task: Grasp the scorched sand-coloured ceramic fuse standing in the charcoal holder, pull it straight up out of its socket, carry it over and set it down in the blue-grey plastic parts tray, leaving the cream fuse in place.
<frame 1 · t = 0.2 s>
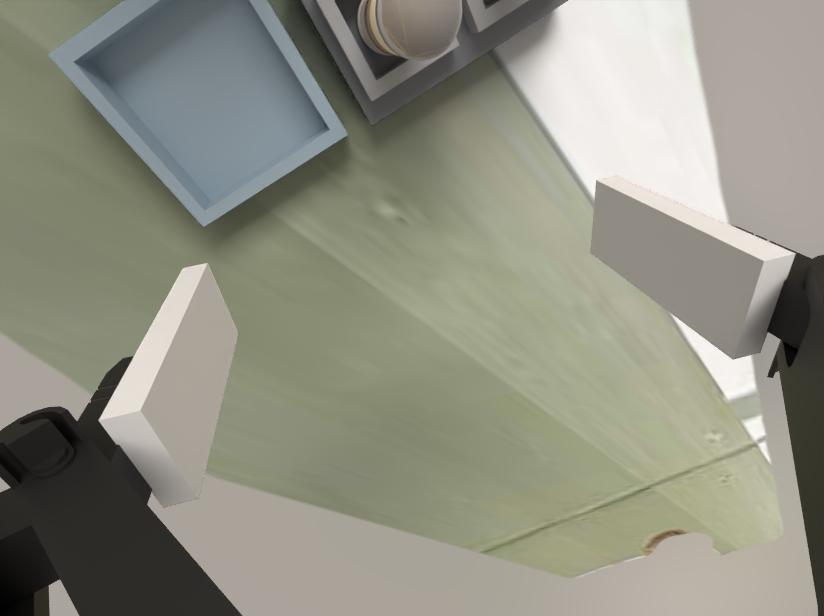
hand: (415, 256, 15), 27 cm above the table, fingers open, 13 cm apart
parts tray: (220, 93, 35), on the table
blown fuse: (385, 21, 32), point 3 cm above the table, touching fuse holder
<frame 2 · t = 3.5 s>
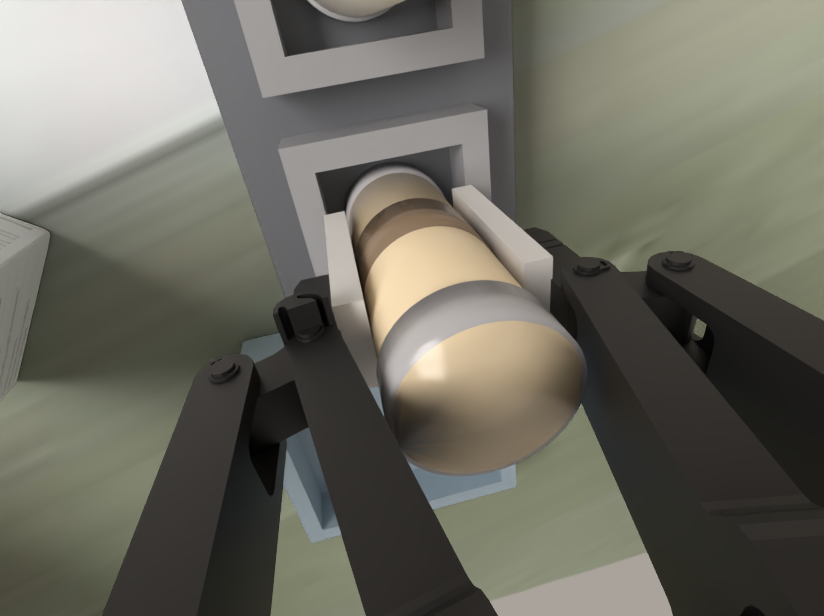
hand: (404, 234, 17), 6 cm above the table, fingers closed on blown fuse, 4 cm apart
parts tray: (390, 402, 29), on the table
fuse holder: (364, 90, 19), on the table
blown fuse: (393, 211, 19), point 3 cm above the table, touching fuse holder, gripper
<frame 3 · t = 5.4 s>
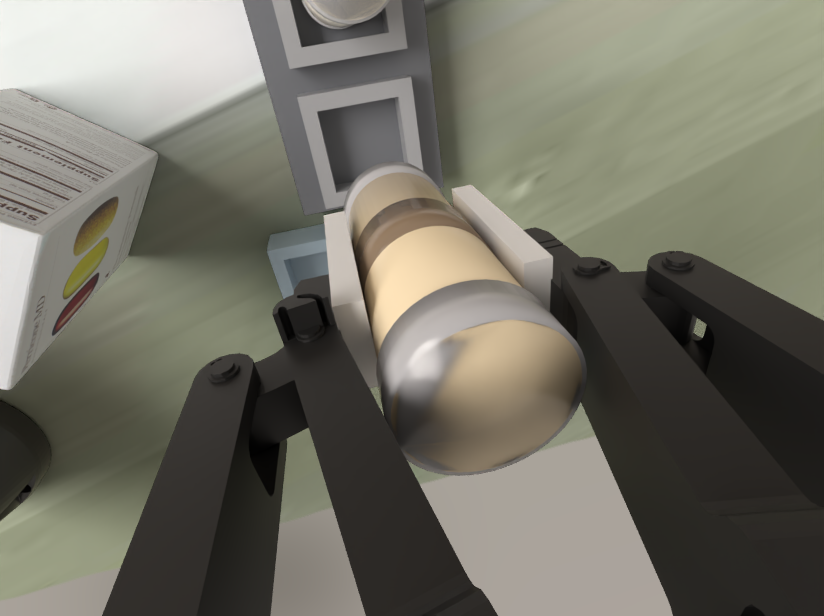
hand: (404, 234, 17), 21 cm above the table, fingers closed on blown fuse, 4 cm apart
parts tray: (368, 288, 41), on the table
fuse holder: (346, 68, 32), on the table
blown fuse: (393, 211, 19), point 18 cm above the table, touching gripper
supplement box: (77, 179, 33), on the table
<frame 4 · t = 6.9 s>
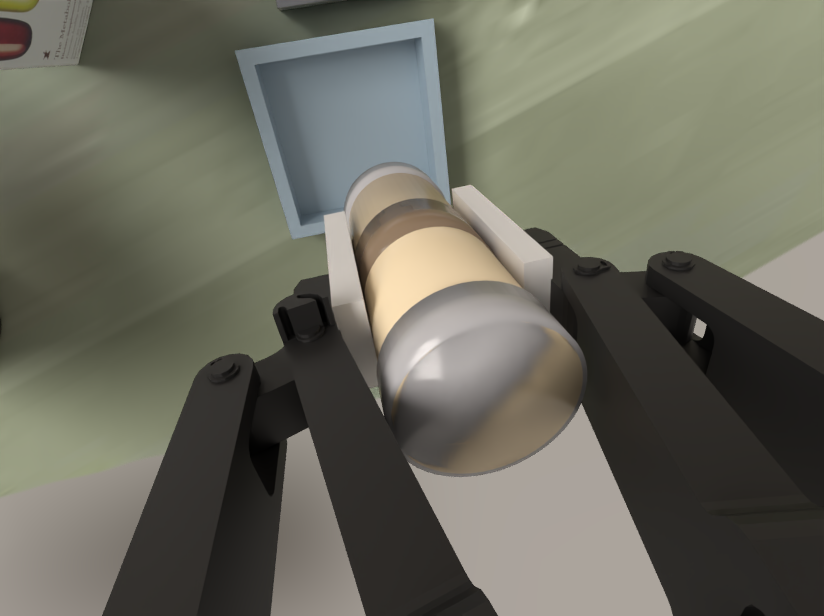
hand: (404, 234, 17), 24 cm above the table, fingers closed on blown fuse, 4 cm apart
parts tray: (352, 131, 37), on the table
blown fuse: (393, 212, 19), point 22 cm above the table, touching gripper
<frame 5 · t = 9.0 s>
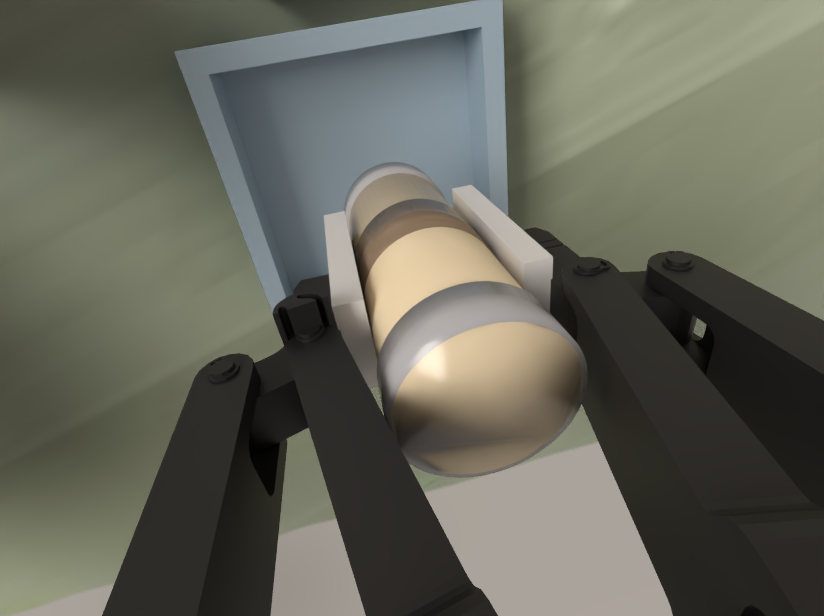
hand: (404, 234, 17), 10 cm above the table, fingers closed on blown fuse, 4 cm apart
parts tray: (367, 169, 25), on the table
blown fuse: (393, 212, 19), point 8 cm above the table, touching gripper
when the fingers open (4 cm above the table, at t = 10.7 s): blown fuse stays where it is, resting on parts tray.
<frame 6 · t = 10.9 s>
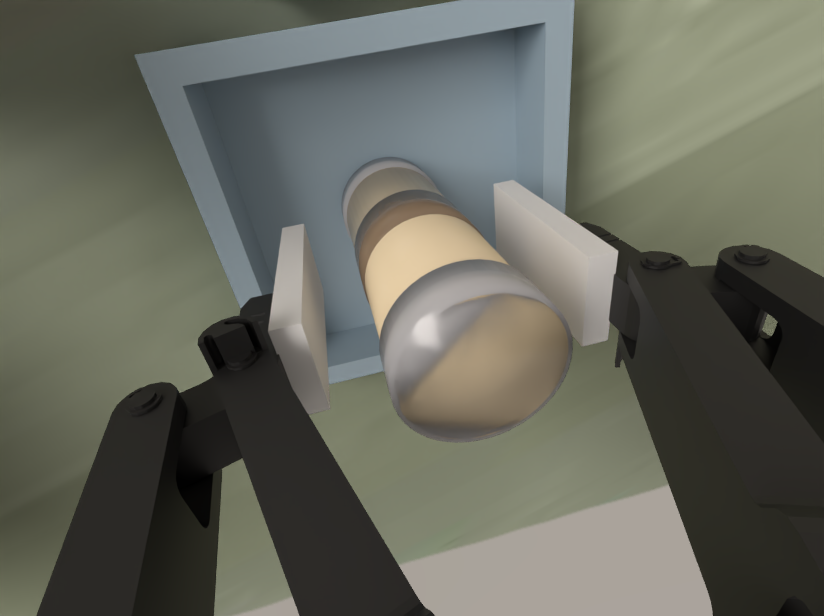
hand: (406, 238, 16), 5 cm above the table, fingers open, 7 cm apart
parts tray: (386, 199, 20), on the table
blown fuse: (388, 205, 20), point 1 cm above the table, touching parts tray
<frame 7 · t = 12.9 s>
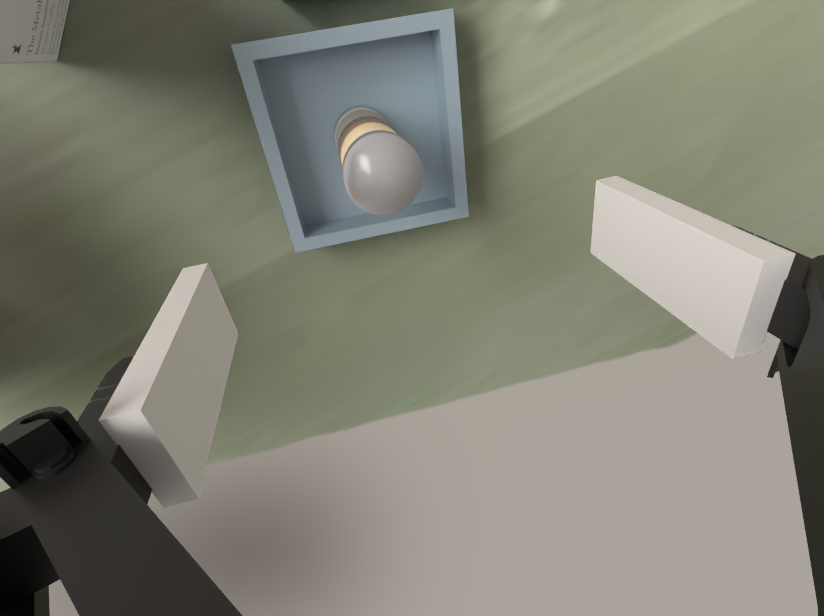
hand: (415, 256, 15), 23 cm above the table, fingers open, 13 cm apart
parts tray: (361, 133, 34), on the table
blown fuse: (362, 136, 33), point 1 cm above the table, touching parts tray
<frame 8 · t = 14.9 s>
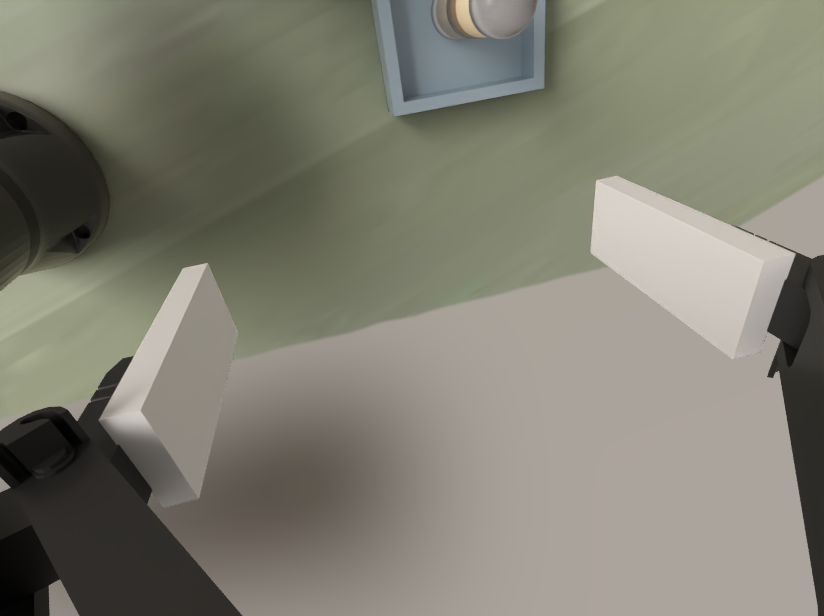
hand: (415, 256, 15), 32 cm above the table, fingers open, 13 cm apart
parts tray: (452, 11, 39), on the table
blown fuse: (454, 11, 38), point 1 cm above the table, touching parts tray
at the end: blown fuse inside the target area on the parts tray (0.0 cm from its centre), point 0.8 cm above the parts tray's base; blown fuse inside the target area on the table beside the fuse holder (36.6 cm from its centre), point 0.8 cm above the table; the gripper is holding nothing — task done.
